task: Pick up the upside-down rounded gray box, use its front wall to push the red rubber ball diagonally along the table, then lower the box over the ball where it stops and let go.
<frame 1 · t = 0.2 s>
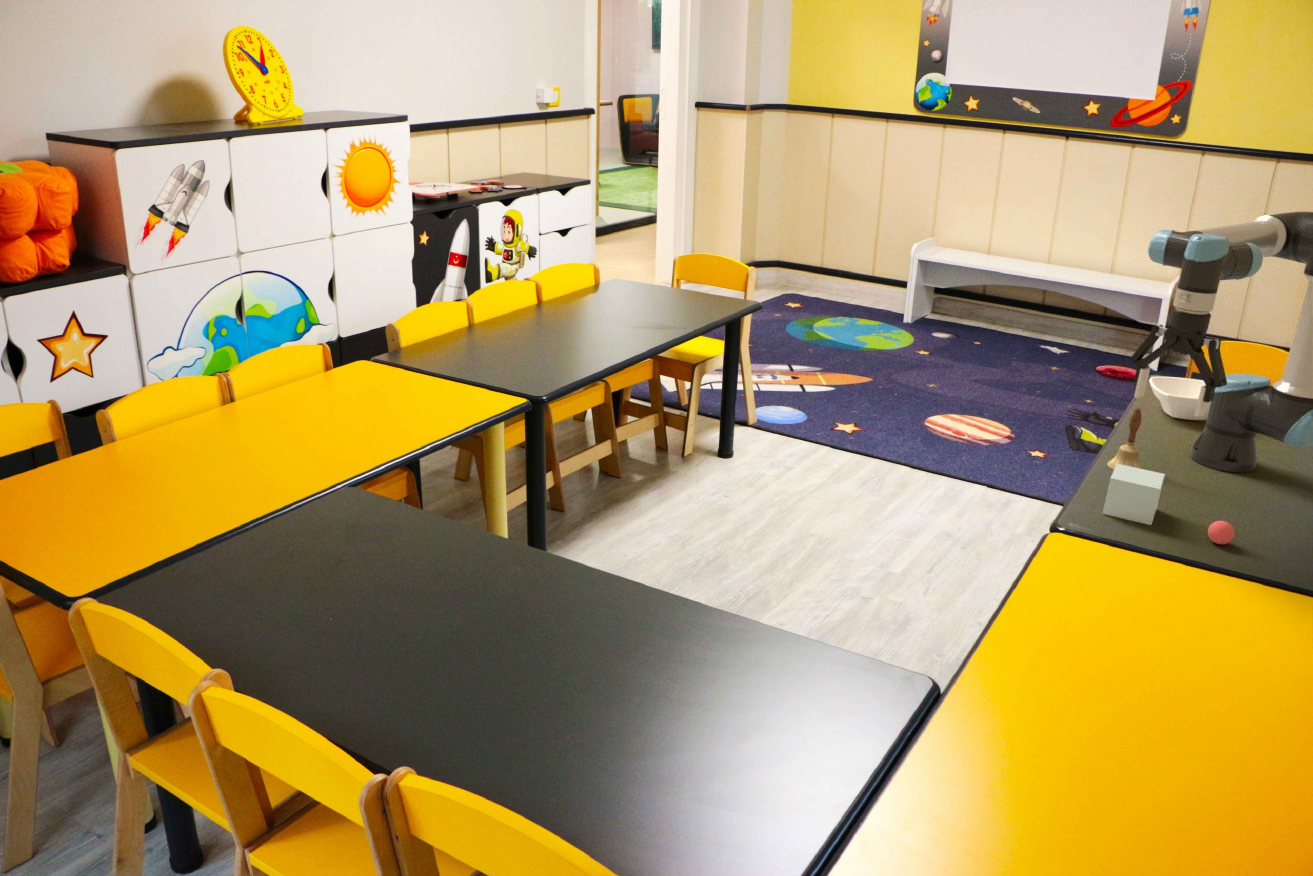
hand: (1168, 405, 220), 26 cm above the table, tool pointing down, fingers open, 13 cm apart
hand bell: (1124, 468, 257), on the table
rounded gray box: (1129, 511, 232), on the table
ball: (1221, 532, 218), on the table
bowl: (1183, 416, 297), on the table
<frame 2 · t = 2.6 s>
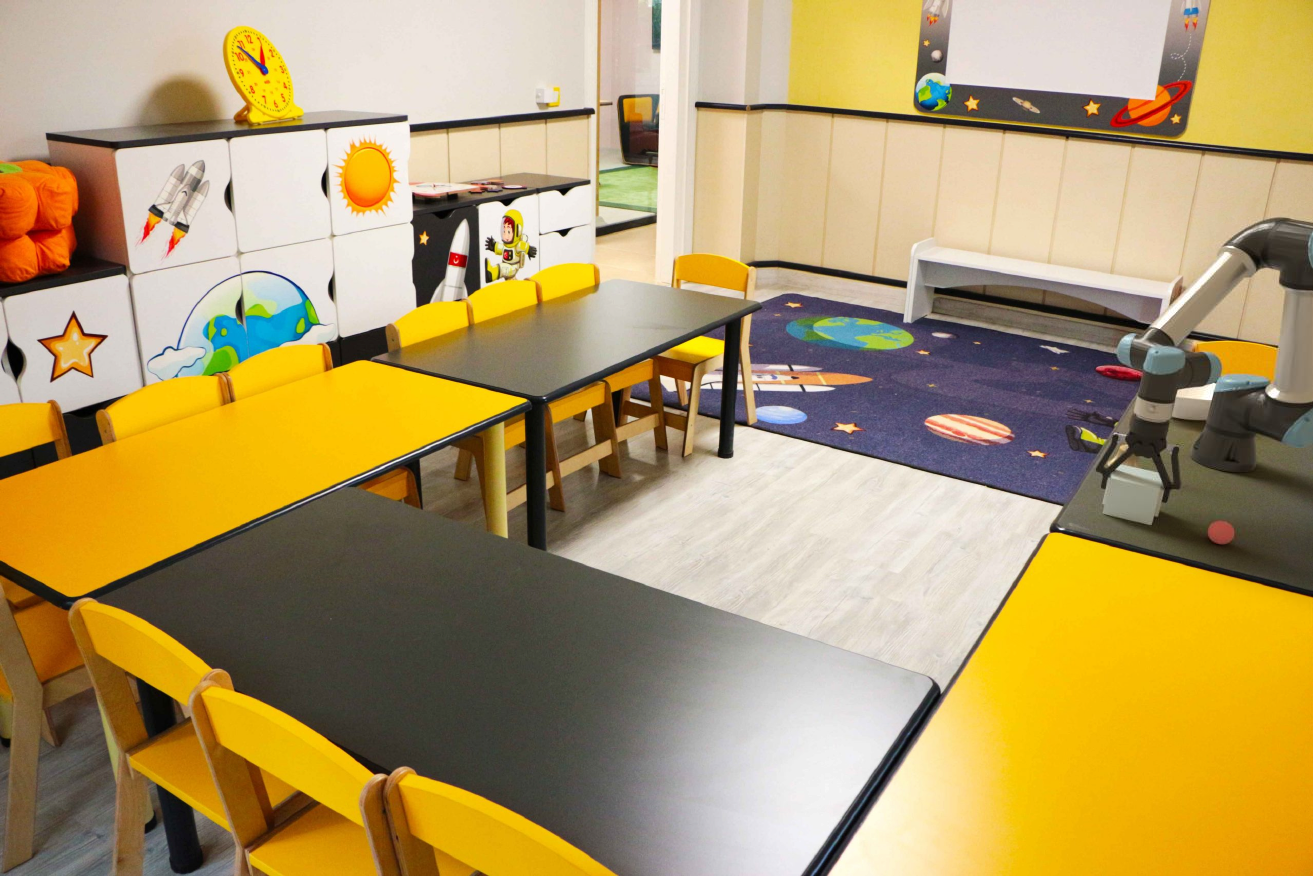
hand: (1130, 508, 232), 1 cm above the table, tool pointing down, fingers closed on rounded gray box, 10 cm apart
rounded gray box: (1129, 511, 232), on the table, touching gripper
everything else where it was.
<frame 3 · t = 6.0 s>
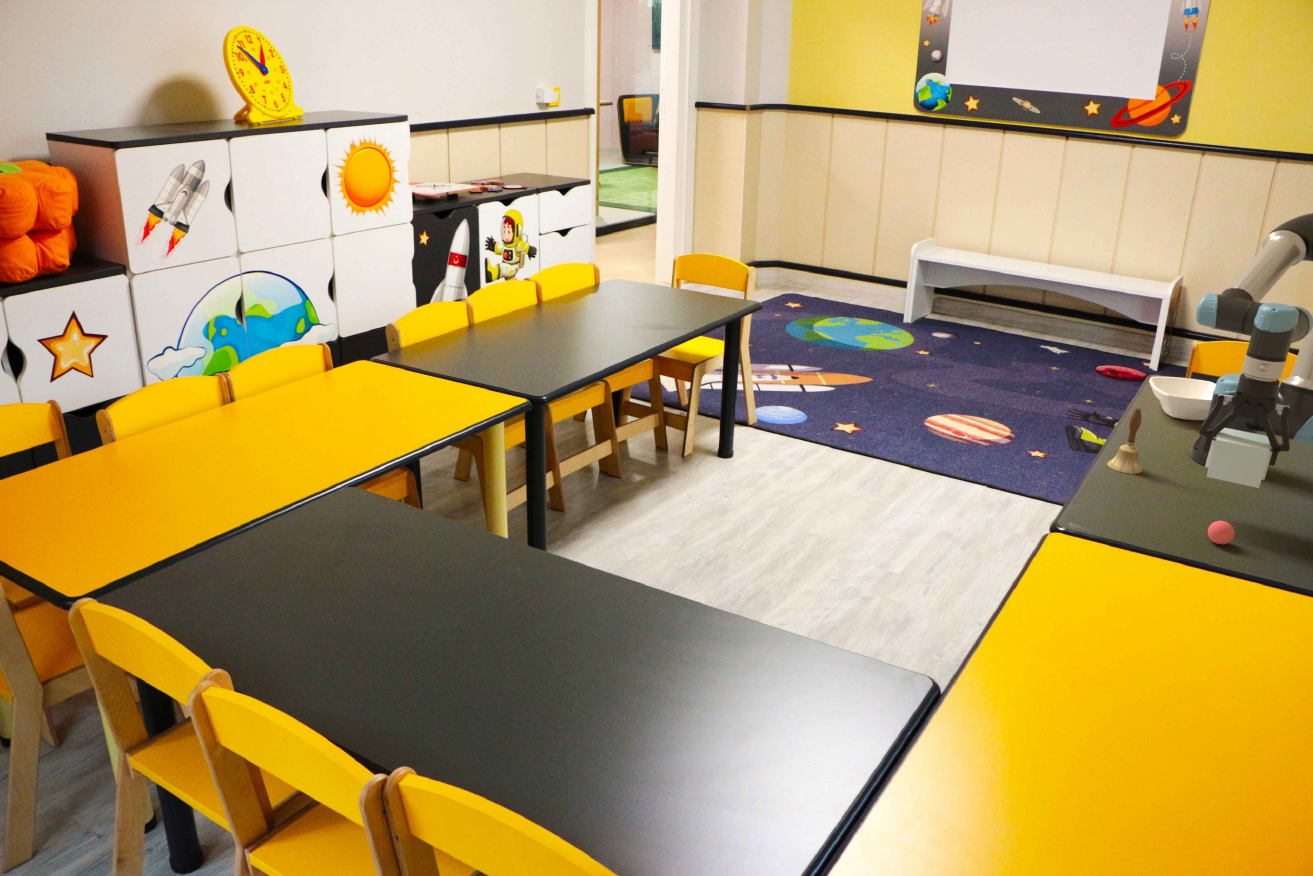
hand: (1234, 471, 226), 12 cm above the table, tool pointing down, fingers closed on rounded gray box, 10 cm apart
rounded gray box: (1233, 475, 226), point 11 cm above the table, touching gripper
everything else where it was.
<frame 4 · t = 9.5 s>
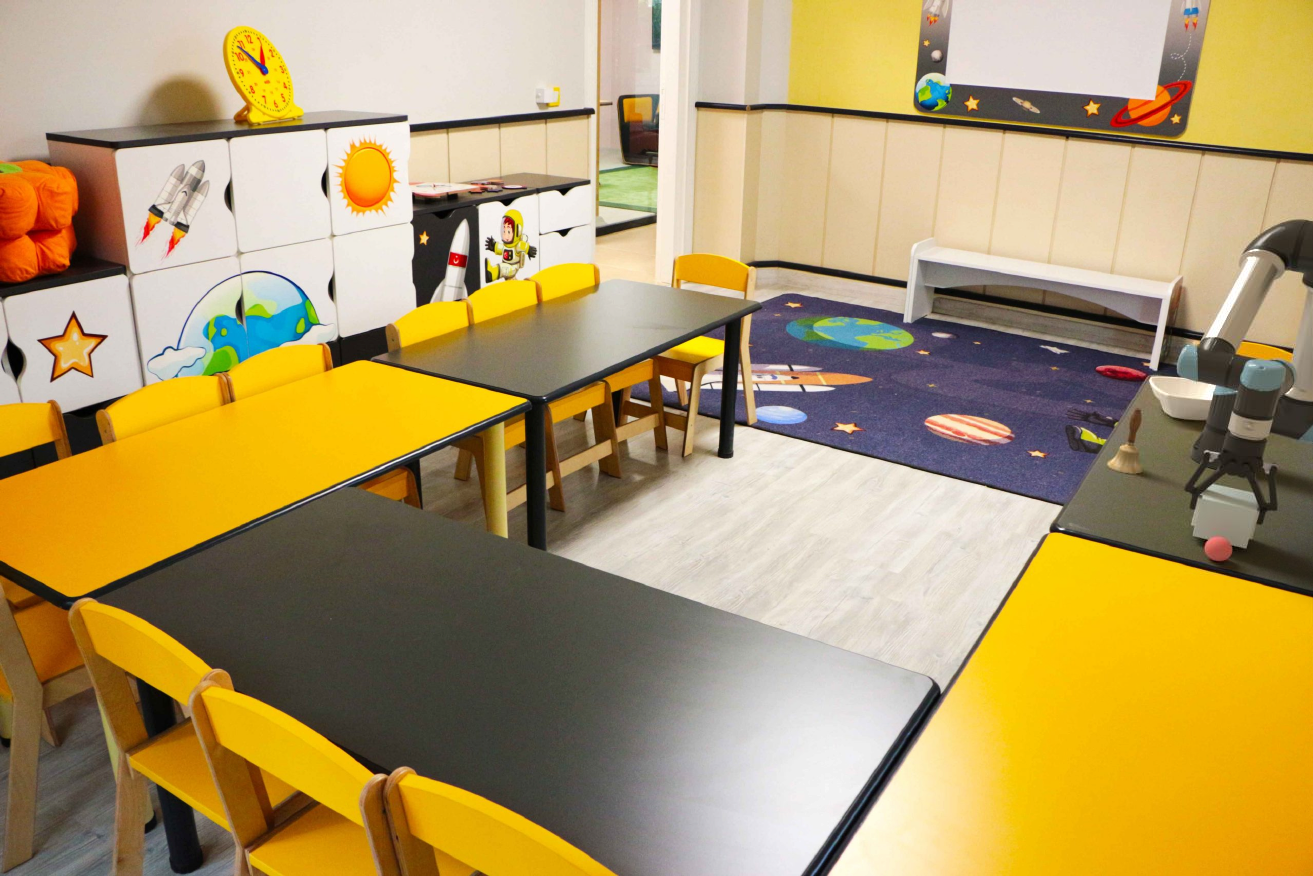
hand: (1221, 529, 220), 2 cm above the table, tool pointing down, fingers closed on rounded gray box, 10 cm apart
rounded gray box: (1220, 533, 220), point 1 cm above the table, touching gripper
ball: (1218, 548, 210), on the table
everything else where it was.
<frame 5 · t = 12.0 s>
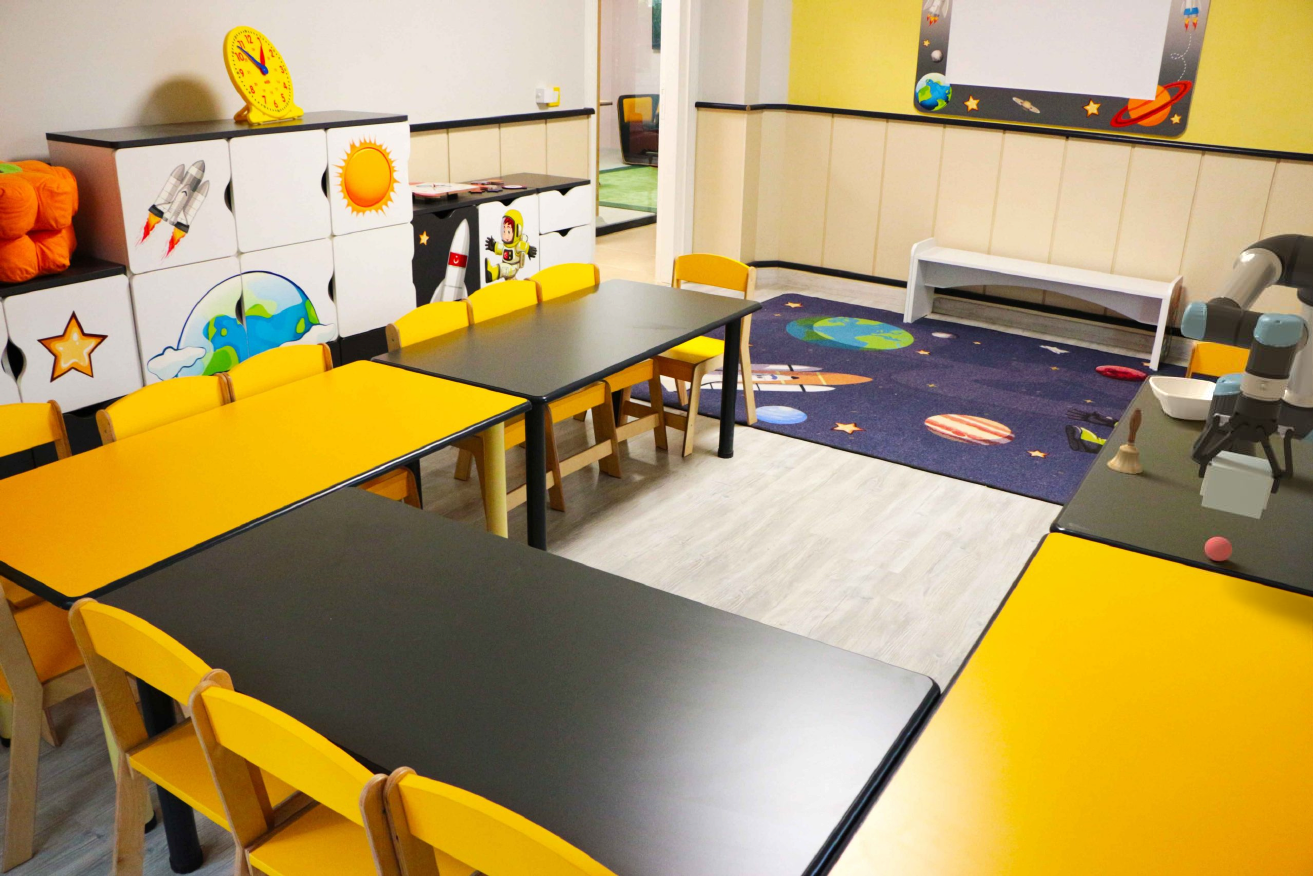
hand: (1232, 499, 204), 15 cm above the table, tool pointing down, fingers closed on rounded gray box, 10 cm apart
rounded gray box: (1231, 503, 204), point 14 cm above the table, touching gripper
everything else where it was.
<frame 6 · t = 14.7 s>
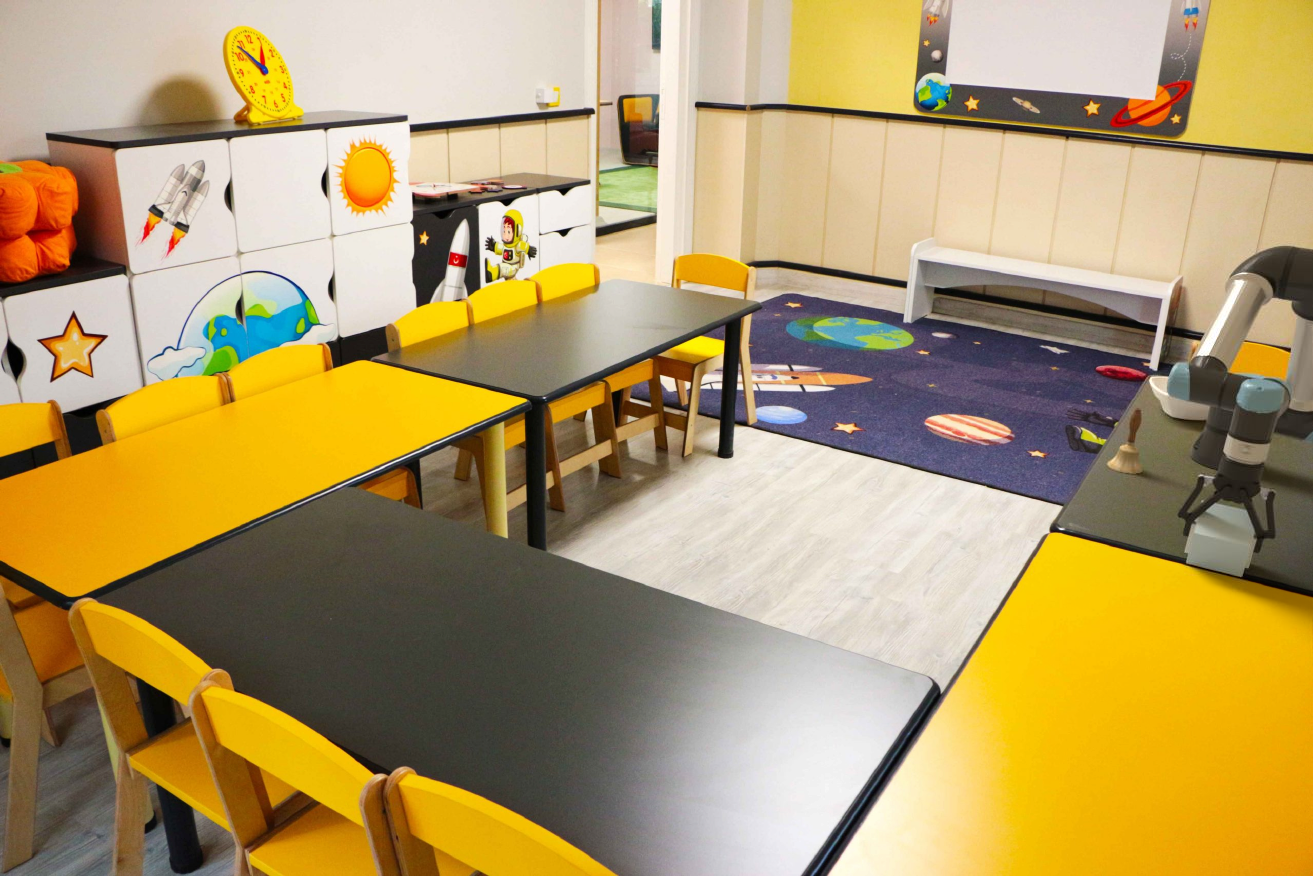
hand: (1216, 557, 208), 2 cm above the table, tool pointing down, fingers closed on rounded gray box, 10 cm apart
rounded gray box: (1217, 553, 210), point 2 cm above the table, tilted 21°, touching ball, gripper
ball: (1218, 546, 211), on the table, touching rounded gray box
everything else where it was.
when the fingers open (2 cm above the table, at t = 15.2 s): rounded gray box drops 2 cm, on the table.
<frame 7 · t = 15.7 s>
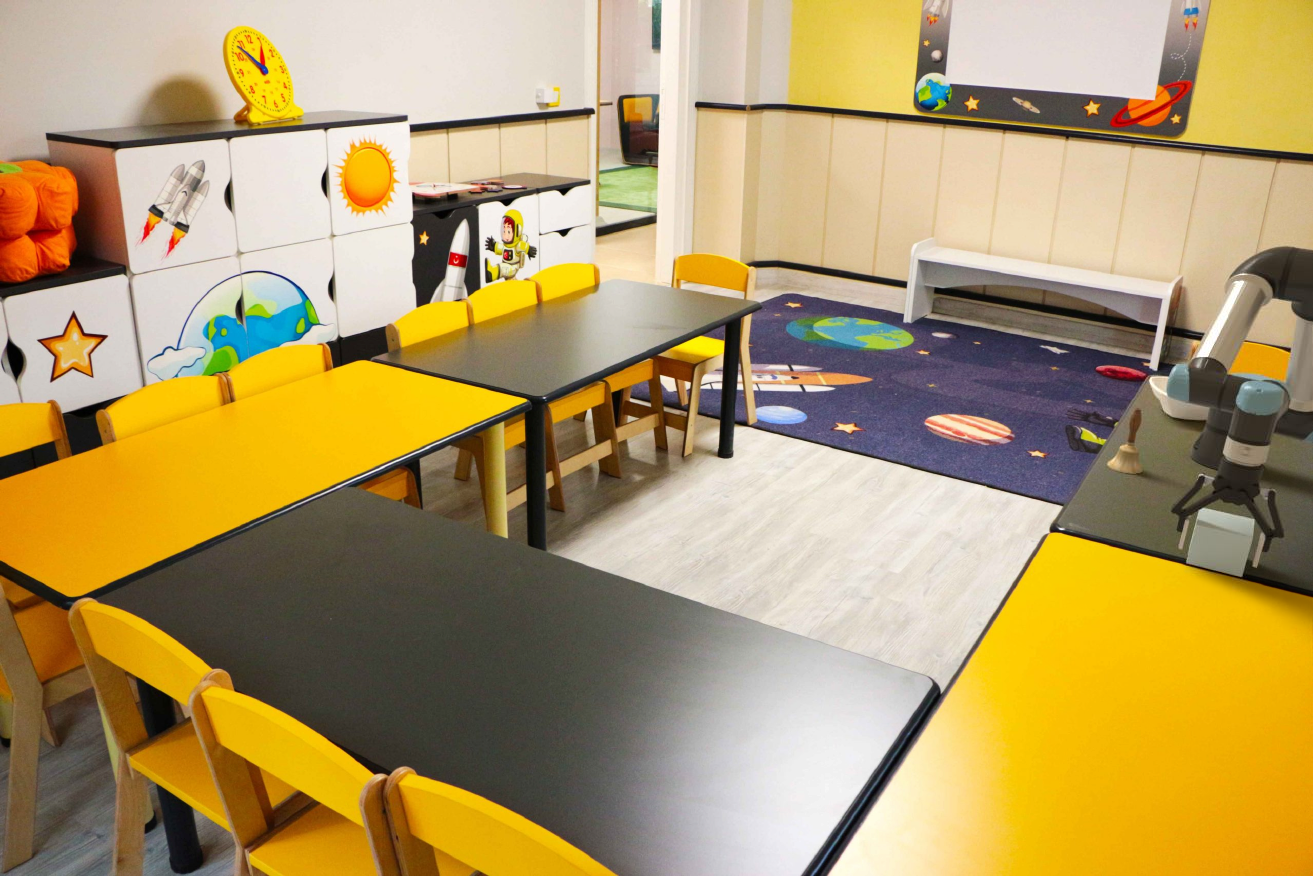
hand: (1217, 555, 208), 2 cm above the table, tool pointing down, fingers open, 13 cm apart
rounded gray box: (1215, 560, 211), on the table
ball: (1218, 546, 211), on the table
everything else where it was.
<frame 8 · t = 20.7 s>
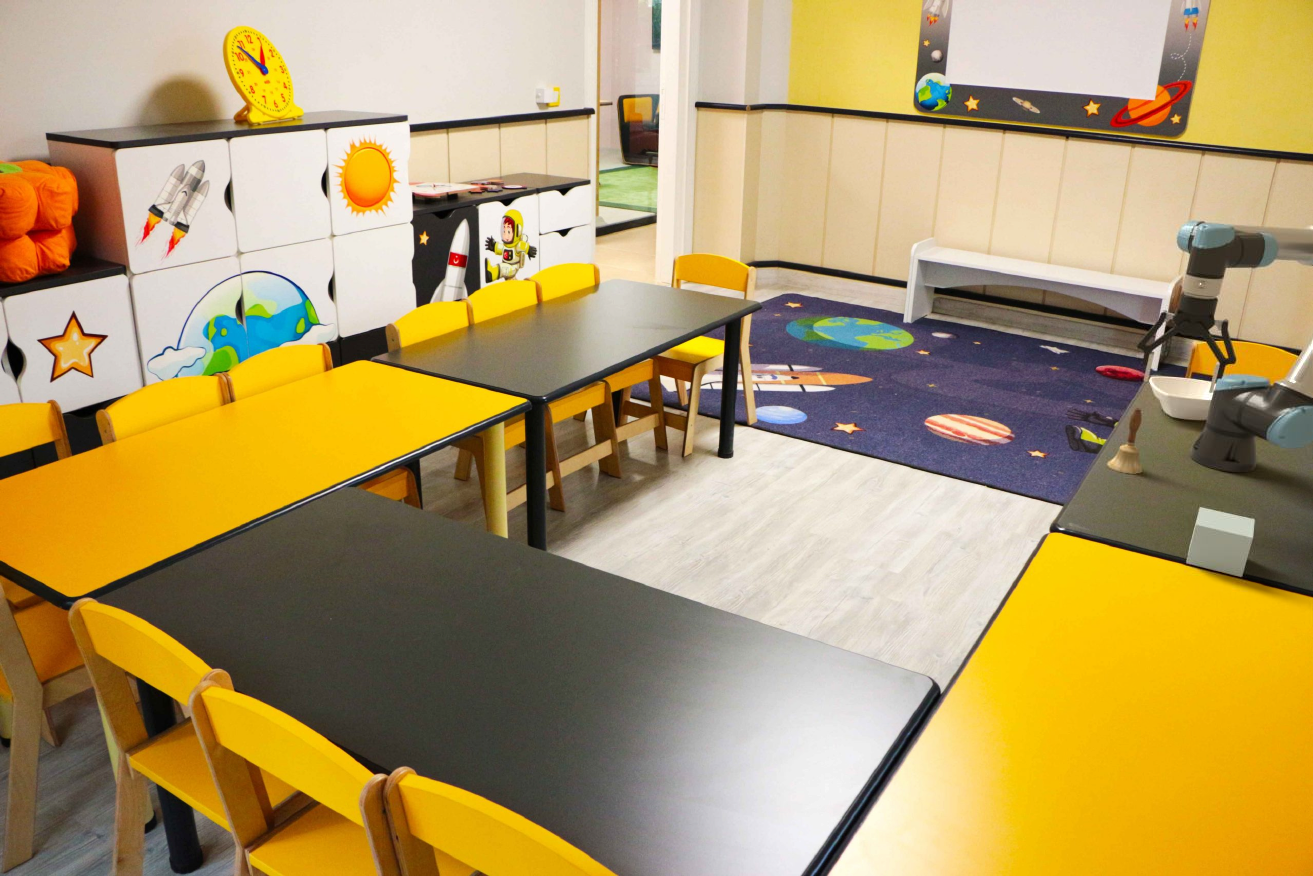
hand: (1178, 385, 233), 27 cm above the table, tool pointing down, fingers open, 13 cm apart
nothing on the table moved.
at the end: ball 1.5 cm from the rounded gray box (horizontally); rounded gray box on the table; ball moved 8.0 cm from its start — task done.
